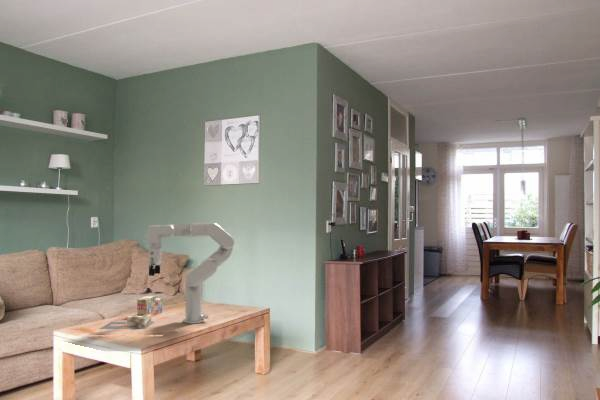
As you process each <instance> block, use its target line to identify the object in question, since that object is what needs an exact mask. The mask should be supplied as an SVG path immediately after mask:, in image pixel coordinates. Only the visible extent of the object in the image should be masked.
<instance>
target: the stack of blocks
mask: <svg viewBox="0 0 600 400" xmlns="http://www.w3.org/2000/svg"><path fill="white" fill-rule="evenodd" d="M136 301H137V306H136V307H137V308H136V309H137V315H136V316H144V315H145V314H151V318H152V317H154V316H156V315H158V314H161V313H163V298H162V297H157V296H156V295H146V296H145V295H144V296H142V297H140V298H137V299H136Z"/></svg>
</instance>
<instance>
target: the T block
mask: <svg viewBox="0 0 600 400" xmlns="http://www.w3.org/2000/svg"><path fill="white" fill-rule="evenodd" d="M126 317H127V318H126V322H127V326H139V327H138V328H145V327H146V326H148V325H149V324H150V323H151V322H152V317H151V314H145V315H144V316H137V315H128V316H126Z"/></svg>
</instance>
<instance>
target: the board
mask: <svg viewBox="0 0 600 400" xmlns="http://www.w3.org/2000/svg"><path fill="white" fill-rule="evenodd" d="M153 324H155V321H151V323H150V324H149V325H148V326H146V327H145V328H138V327H139V326H127V321H110V322H108V323H107V324H104V326H102V327H99V329H100V330H146V329H148V328H149V327H150V326H151V325H153Z"/></svg>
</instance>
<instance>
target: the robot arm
mask: <svg viewBox="0 0 600 400" xmlns="http://www.w3.org/2000/svg"><path fill="white" fill-rule="evenodd" d="M172 237H188V238H197V237H198V238H200V237H210V239H212V240H214V242H216V243H217V244H218V245H219V247H218V249H217V250H215V251H214V252H213V253H211V254H210V255H209V256H207V257H206V258H205V259H203V260H202V261H201V262H200V264H198V266H197V267H195V268H191V269H189V270H188V271H187V272H186V273H185V309H184V310H185V318H184V319H182V323H183V324H184V323H185V324H201V323H203V322H205V320H209V317H210V316H209V315H208V314H205V315H204V314H203V312H202V311H203V309H202V304H203V303H202V298H203V297H202V292H203V291H202V289H203V288H202V286H203V285H202V284H203V283H205V282H206V281H207V280H208V279H210V278H211V277H212V276H213V275H214V274H216V272H217V269H218V268H219V267H220V266H222V265H223V264H224V263H225V262H226V261H228V259H229V258H230V256H231V255H232V253H233V249H234V248H233V247H234V245H235V239H234V237H233V236H232V235H231V234H230V233H228V232H227V231H226V230H225V229H224V228H222V227H221V225H219V224H218V223H216V222H209V221H208V222H189V223H175V224H173V223H172V224H166V225H160V224H152V225H149V226H148V251H149V252H148V275H149V277H150V276H152V277H153V276H155V274H156V275H157V274H161V264H162V262H163V261H162V259H163V257H162V245H163V244H162V242H163V240H162V238H172Z"/></svg>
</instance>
